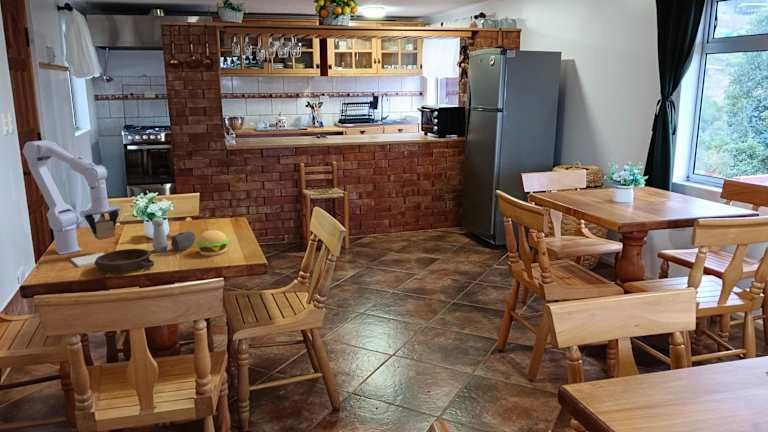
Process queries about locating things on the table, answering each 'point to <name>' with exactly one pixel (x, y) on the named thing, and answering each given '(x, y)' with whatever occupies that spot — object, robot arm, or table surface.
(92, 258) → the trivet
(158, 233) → the salt shaker
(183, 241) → the perforated stone tool
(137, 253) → the dish
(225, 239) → the hamburger
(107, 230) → the walnut cube
